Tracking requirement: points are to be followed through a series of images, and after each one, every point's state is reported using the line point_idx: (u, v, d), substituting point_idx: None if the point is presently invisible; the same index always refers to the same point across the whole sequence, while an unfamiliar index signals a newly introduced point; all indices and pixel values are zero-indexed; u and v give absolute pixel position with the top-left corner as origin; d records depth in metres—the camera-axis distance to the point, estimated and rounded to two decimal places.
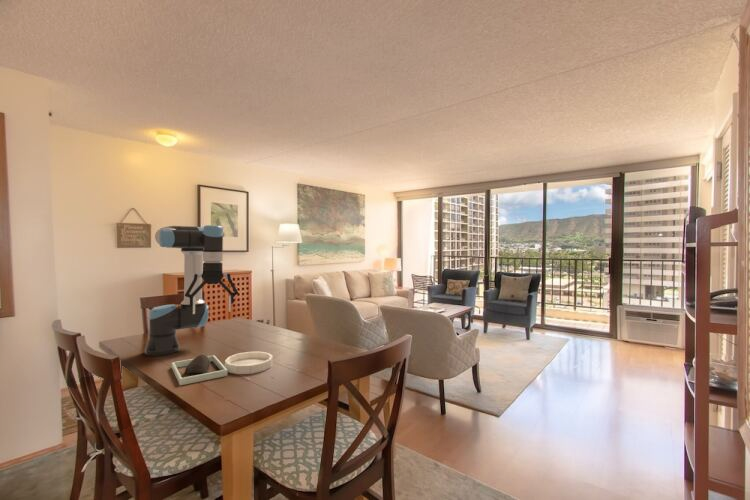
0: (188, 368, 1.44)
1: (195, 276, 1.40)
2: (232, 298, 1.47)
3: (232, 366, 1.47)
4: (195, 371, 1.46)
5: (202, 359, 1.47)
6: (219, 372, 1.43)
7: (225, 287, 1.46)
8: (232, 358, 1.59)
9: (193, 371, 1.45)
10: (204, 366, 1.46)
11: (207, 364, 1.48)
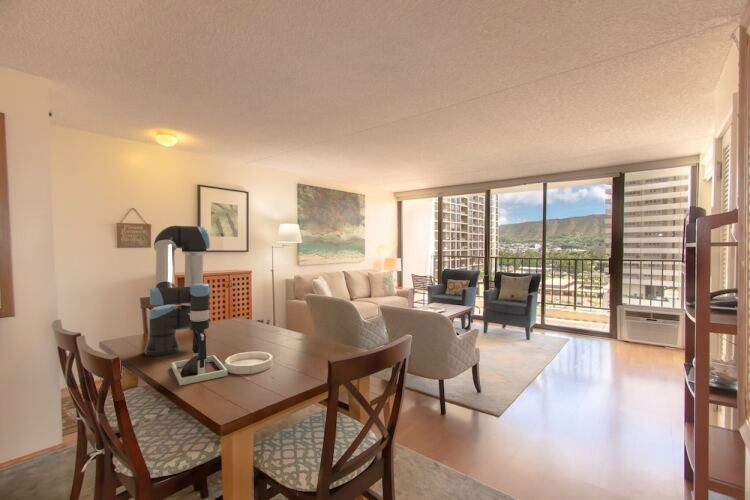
0: (185, 368, 1.44)
1: (193, 332, 1.53)
2: (200, 362, 1.43)
3: (232, 366, 1.47)
4: (192, 371, 1.45)
5: None
6: (219, 372, 1.43)
7: (198, 348, 1.44)
8: (232, 358, 1.59)
9: (190, 371, 1.45)
10: None
11: None
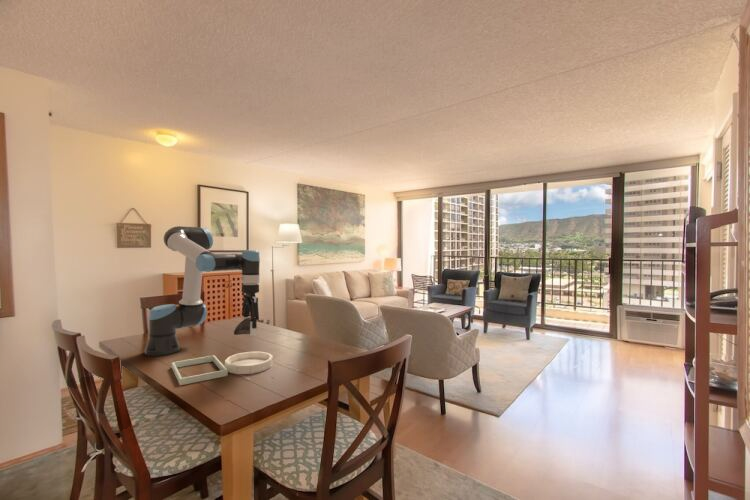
0: (238, 329, 1.52)
1: (243, 296, 1.61)
2: (252, 323, 1.51)
3: (232, 366, 1.47)
4: (244, 332, 1.53)
5: None
6: (219, 372, 1.43)
7: (250, 310, 1.53)
8: (232, 358, 1.59)
9: (242, 332, 1.53)
10: None
11: None
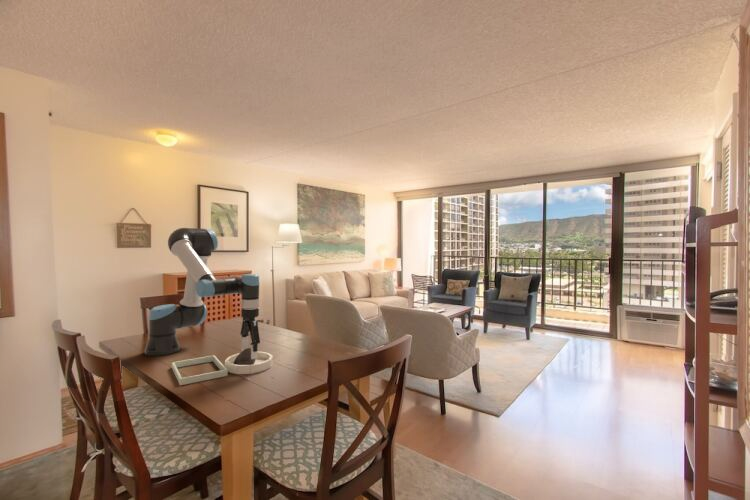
0: (237, 360, 1.52)
1: (243, 318, 1.61)
2: (253, 346, 1.50)
3: (232, 366, 1.47)
4: (243, 363, 1.54)
5: (249, 352, 1.55)
6: (219, 372, 1.43)
7: (250, 334, 1.52)
8: (232, 358, 1.59)
9: (242, 363, 1.53)
10: None
11: None
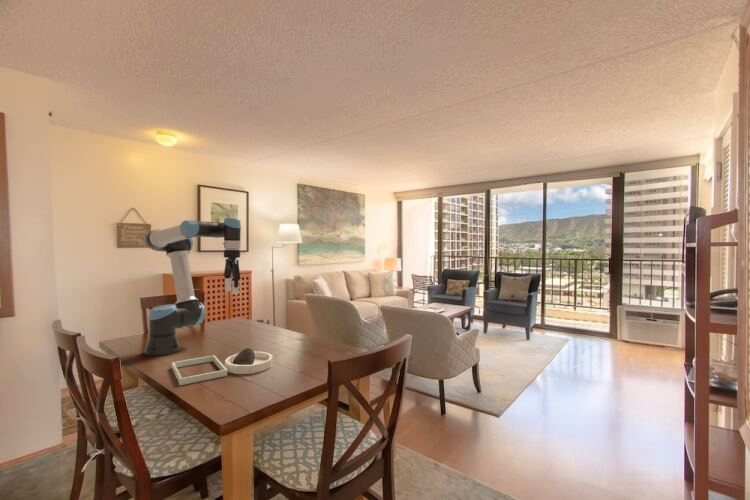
0: (236, 360, 1.52)
1: None
2: (234, 282, 1.62)
3: (232, 366, 1.47)
4: (242, 363, 1.53)
5: (248, 352, 1.54)
6: (219, 372, 1.43)
7: (232, 272, 1.64)
8: (232, 358, 1.59)
9: (241, 363, 1.53)
10: (251, 358, 1.54)
11: (253, 357, 1.56)
